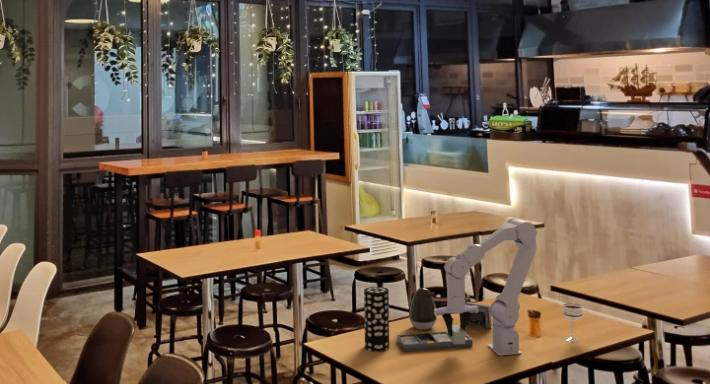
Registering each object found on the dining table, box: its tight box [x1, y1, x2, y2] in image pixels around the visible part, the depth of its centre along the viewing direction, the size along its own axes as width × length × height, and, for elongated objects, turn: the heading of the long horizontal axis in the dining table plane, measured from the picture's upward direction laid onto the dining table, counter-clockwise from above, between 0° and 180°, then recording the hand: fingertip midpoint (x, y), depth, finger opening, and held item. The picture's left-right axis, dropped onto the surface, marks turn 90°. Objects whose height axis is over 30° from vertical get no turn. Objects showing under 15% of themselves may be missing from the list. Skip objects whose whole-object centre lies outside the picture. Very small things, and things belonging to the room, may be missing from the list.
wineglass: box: [562, 302, 584, 343], centre depth 215 cm, size 7×7×12 cm
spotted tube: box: [363, 286, 390, 352], centre depth 210 cm, size 8×8×20 cm
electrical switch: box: [465, 301, 493, 331], centre depth 229 cm, size 9×5×9 cm, turn 57°
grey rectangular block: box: [448, 324, 466, 344], centre depth 202 cm, size 7×4×4 cm, turn 10°
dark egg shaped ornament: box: [408, 287, 438, 331], centre depth 229 cm, size 10×10×15 cm
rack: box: [396, 330, 474, 353], centre depth 213 cm, size 10×24×2 cm, turn 100°
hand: (456, 335), depth 202 cm, fingers closed on grey rectangular block, 3 cm apart
